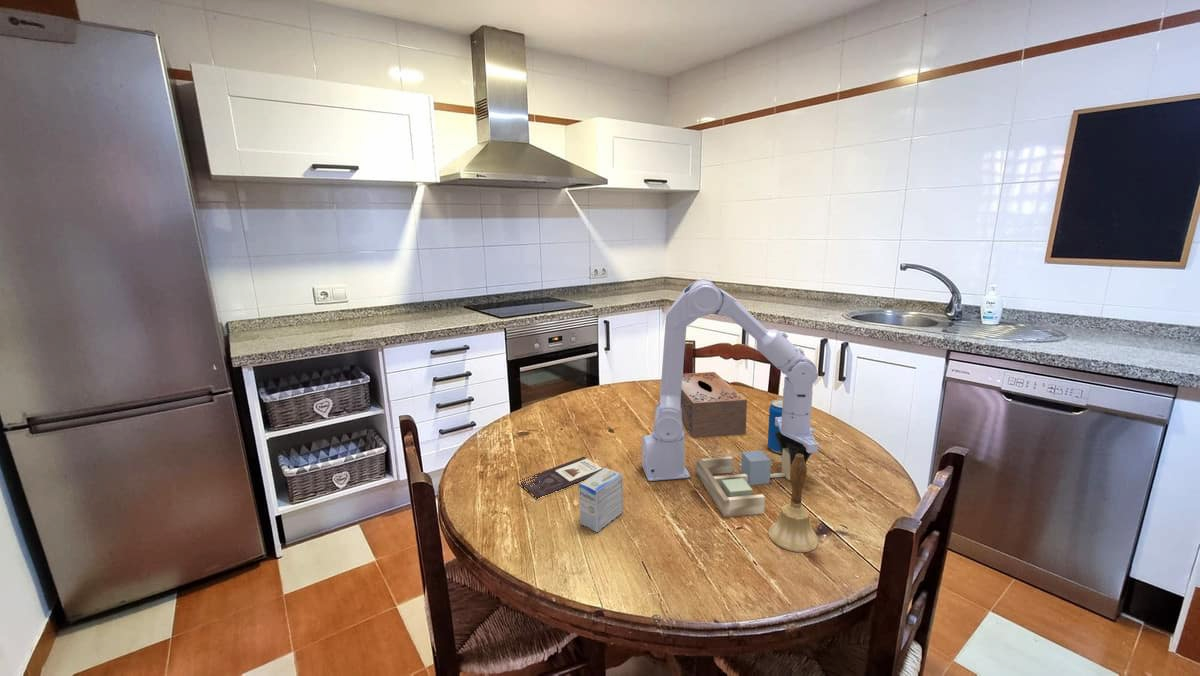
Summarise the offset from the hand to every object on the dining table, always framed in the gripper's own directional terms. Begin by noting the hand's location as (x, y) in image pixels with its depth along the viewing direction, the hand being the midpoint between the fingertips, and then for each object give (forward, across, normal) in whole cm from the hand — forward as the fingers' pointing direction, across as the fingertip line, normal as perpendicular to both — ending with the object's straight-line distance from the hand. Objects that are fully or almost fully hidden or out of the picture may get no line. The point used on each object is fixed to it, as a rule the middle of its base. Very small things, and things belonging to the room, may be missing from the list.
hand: (792, 468), depth 103 cm
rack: (+2, -4, +16) cm, 17 cm away
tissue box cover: (+2, +36, +8) cm, 37 cm away
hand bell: (+2, -20, +10) cm, 23 cm away
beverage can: (+2, +12, -4) cm, 13 cm away
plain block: (+2, -8, +16) cm, 18 cm away
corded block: (+2, 0, +5) cm, 5 cm away
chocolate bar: (+2, +8, +50) cm, 51 cm away
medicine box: (+2, -10, +43) cm, 44 cm away
